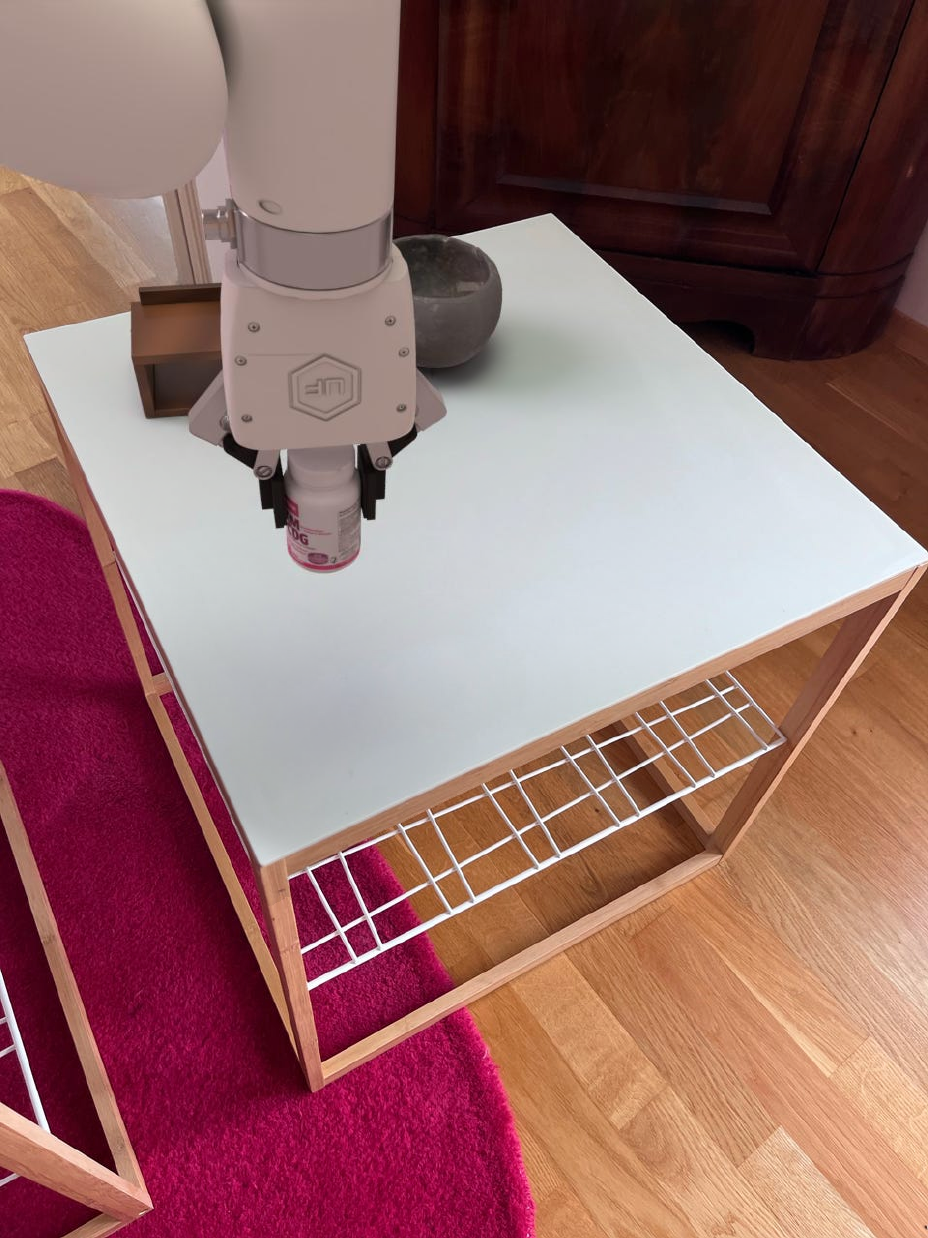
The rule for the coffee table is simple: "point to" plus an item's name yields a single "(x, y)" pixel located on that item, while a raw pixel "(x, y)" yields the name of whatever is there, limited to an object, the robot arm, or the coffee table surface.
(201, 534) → the coffee table surface
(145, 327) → the shelf
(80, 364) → the coffee table surface
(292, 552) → the pill bottle
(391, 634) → the coffee table surface
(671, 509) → the coffee table surface
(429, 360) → the bowl
